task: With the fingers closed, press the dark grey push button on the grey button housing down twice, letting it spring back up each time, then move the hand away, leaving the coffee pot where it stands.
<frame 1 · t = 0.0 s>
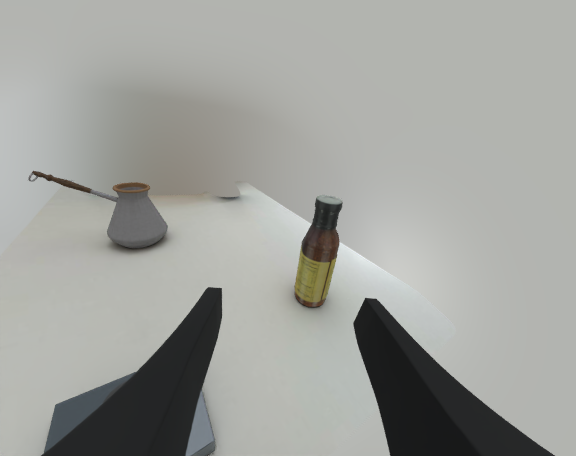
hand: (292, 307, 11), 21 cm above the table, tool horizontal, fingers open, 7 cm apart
dark grey push button: (128, 406, 19), point 5 cm above the table, slide at 0.1 cm
grey button housing: (137, 432, 21), on the table
coffee pot: (116, 241, 49), on the table
sauce bottle: (308, 297, 41), on the table
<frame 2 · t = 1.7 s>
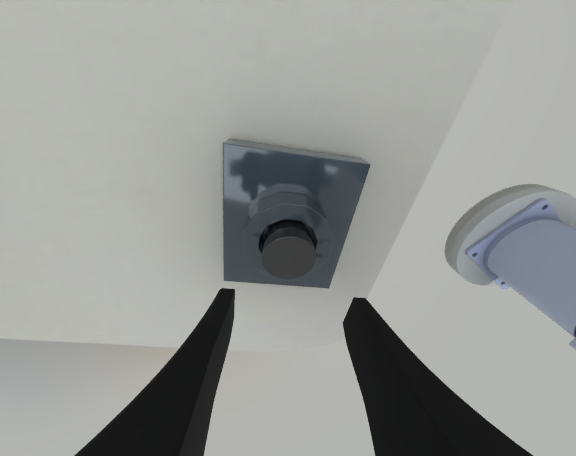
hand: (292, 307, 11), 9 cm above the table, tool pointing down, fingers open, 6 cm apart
dark grey push button: (288, 250, 15), point 5 cm above the table, slide at 0.1 cm
grey button housing: (285, 219, 19), on the table
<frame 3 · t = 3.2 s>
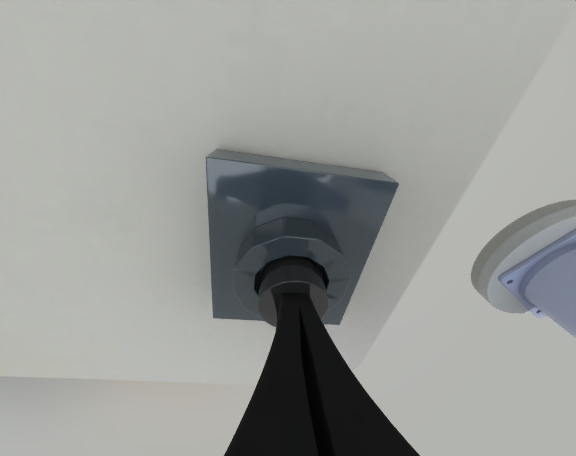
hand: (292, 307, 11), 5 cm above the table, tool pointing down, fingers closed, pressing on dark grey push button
dark grey push button: (292, 291, 12), point 4 cm above the table, slide at -0.1 cm, touching gripper
grey button housing: (288, 244, 15), on the table
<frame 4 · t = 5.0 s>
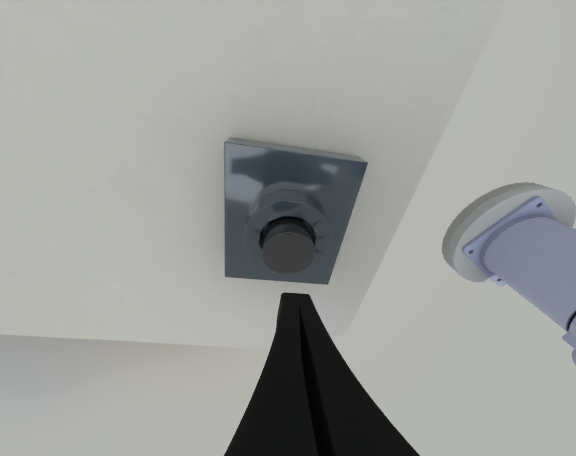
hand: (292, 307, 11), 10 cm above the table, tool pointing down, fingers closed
dark grey push button: (288, 246, 15), point 5 cm above the table, slide at 0.1 cm
grey button housing: (285, 216, 19), on the table
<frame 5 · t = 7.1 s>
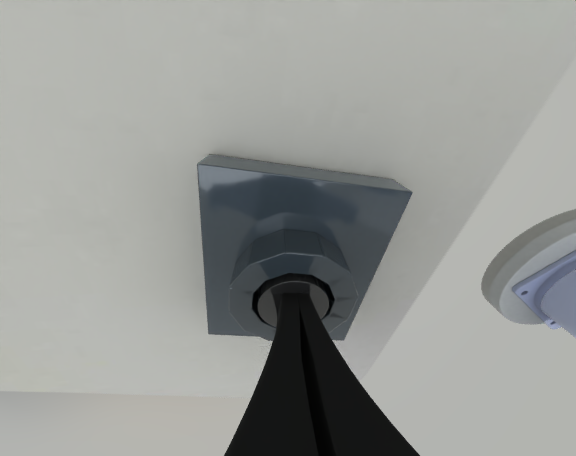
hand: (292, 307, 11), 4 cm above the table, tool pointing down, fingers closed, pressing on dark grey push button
dark grey push button: (292, 292, 12), point 3 cm above the table, slide at -1.4 cm, touching gripper
grey button housing: (289, 256, 14), on the table
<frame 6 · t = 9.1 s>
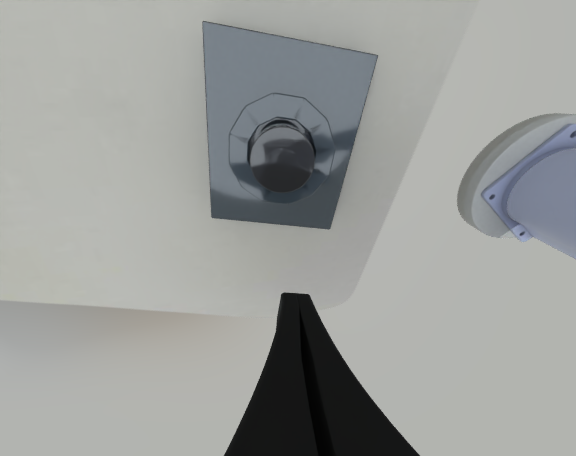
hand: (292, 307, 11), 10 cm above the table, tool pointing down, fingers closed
dark grey push button: (282, 158, 13), point 5 cm above the table, slide at 0.1 cm
grey button housing: (280, 144, 17), on the table
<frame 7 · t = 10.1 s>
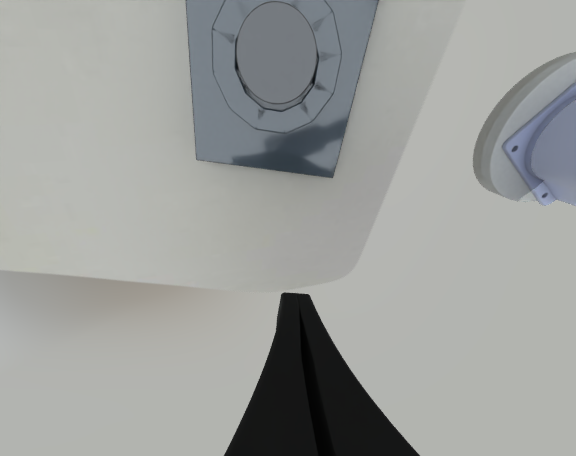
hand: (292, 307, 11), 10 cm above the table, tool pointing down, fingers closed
dark grey push button: (276, 61, 10), point 5 cm above the table, slide at 0.1 cm
grey button housing: (276, 72, 14), on the table
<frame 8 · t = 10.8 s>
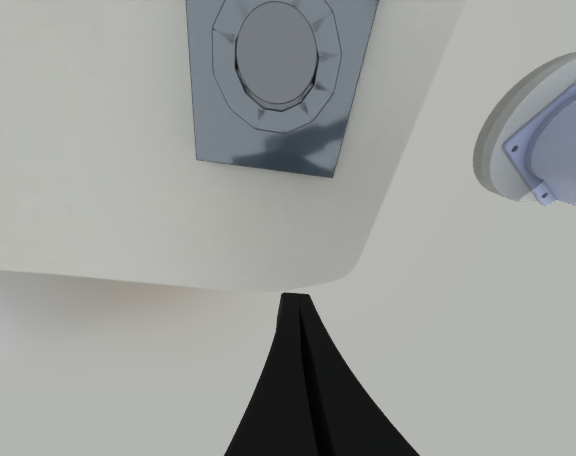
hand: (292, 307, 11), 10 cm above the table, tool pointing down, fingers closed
dark grey push button: (276, 61, 10), point 5 cm above the table, slide at 0.1 cm
grey button housing: (276, 72, 14), on the table
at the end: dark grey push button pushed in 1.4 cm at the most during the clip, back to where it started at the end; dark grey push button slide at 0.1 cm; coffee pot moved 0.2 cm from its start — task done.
